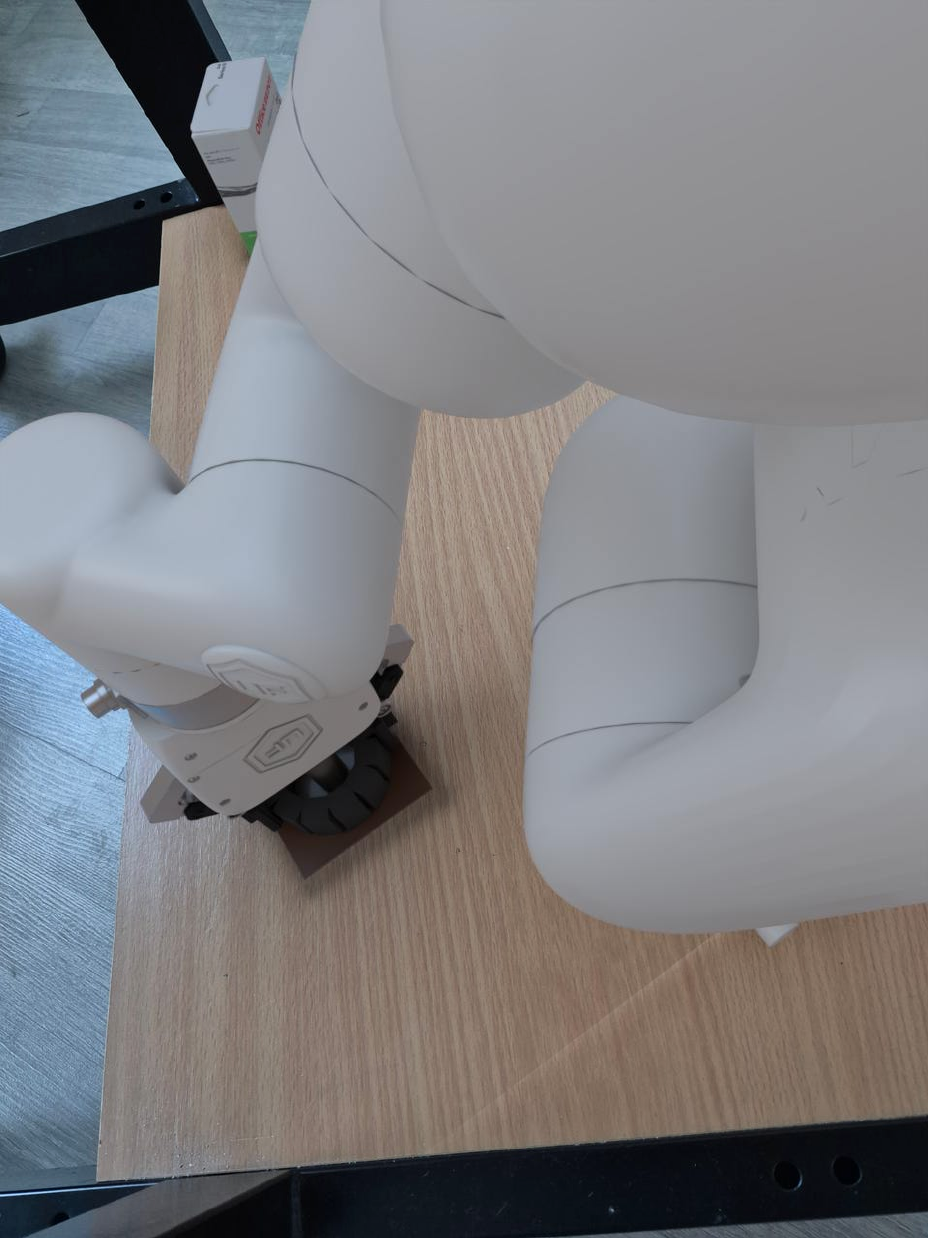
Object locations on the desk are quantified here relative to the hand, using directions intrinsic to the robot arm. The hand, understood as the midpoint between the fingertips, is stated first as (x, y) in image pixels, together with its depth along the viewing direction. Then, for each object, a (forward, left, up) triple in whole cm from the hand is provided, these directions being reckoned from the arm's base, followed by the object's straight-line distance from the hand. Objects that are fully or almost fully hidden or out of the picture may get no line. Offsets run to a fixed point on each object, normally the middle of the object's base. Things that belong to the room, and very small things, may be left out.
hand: (325, 768), depth 59 cm
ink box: (+46, -21, -3) cm, 51 cm away
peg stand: (0, 0, -3) cm, 3 cm away
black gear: (0, 0, -1) cm, 1 cm away
